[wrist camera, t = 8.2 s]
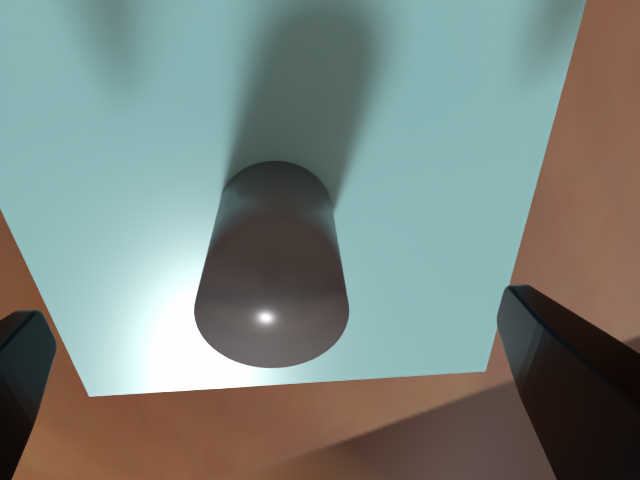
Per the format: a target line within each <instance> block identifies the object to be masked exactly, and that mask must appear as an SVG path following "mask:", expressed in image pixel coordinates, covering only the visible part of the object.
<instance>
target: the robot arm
mask: <svg viewBox="0 0 640 480" xmlns="http://www.w3.org/2000/svg"><path fill="white" fill-rule="evenodd" d="M497 327H498V331H499V334H500V337H501V340H502V343H503V346H504V350H505V353H506V356H507V359H508V362H509V365H510V368H511V371H512V375H513V378H514V381H515V384H516V387H517V390H518V392H519V395H520V398H521V400H522V403H523V405H524V407H525V409H526V412H527V414H528V416H529V419H530V421H531V423H532V425H533V428H534V430H535V432H536V434H537V437H538V439H539V441H540V443H541V446H542V448H543V450H544V452H545V454H546V457H547V459H548V461H549V463H550V466H551V468H552V470H553V472H554V475H555V477H556V479H557V480H640V353H638V352H637V351H635V350H634V349H632V348H630V347H629V346H627V345H625V344H624V343H622V342H621V341H619V340H617V339H616V338H614V337H612V336H611V335H609V334H608V333H606V332H604V331H603V330H601V329H599V328H598V327H596V326H595V325H593V324H591V323H590V322H588V321H586V320H585V319H583V318H582V317H580V316H578V315H577V314H575V313H573V312H572V311H570V310H569V309H567V308H565V307H564V306H562V305H560V304H559V303H557V302H555V301H554V300H552V299H551V298H549V297H547V296H546V295H544V294H542V293H541V292H539V291H538V290H536V289H534V288H533V287H531V286H529V285H509V286H507V287H506V288H505V289H504V291H503V295H502V298H501V302H500V306H499V309H498V313H497ZM56 348H57V347H56V340H55V337H54V335H53V333H52V331H51V329H50V327H49V325H48V323H47V321H46V318H45V316H44V315H43V313H42V312H41V311H39V310H19V311H15V312H13V313H11V314H10V315H8V316H7V317H5V318H3V319H2V320H0V480H12V477H13V475H14V472H15V470H16V468H17V465H18V463H19V460H20V458H21V456H22V453H23V451H24V449H25V446H26V444H27V441H28V439H29V436H30V434H31V431H32V429H33V426H34V423H35V420H36V417H37V414H38V411H39V408H40V404H41V401H42V398H43V394H44V391H45V387H46V384H47V381H48V377H49V374H50V371H51V367H52V364H53V361H54V357H55V354H56Z"/></svg>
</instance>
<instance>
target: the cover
mask: <svg viewBox="0 0 640 480" xmlns="http://www.w3.org/2000/svg"><path fill="white" fill-rule="evenodd" d="M585 4H586V0H0V209H1V211H2V213H3V215H4V218H5V220H6V222H7V224H8V226H9V228H10V230H11V232H12V234H13V237H14V239H15V241H16V243H17V245H18V247H19V249H20V251H21V253H22V256H23V258H24V260H25V262H26V264H27V266H28V268H29V270H30V272H31V275H32V277H33V279H34V281H35V283H36V285H37V287H38V289H39V291H40V294H41V296H42V298H43V300H44V302H45V304H46V306H47V308H48V310H49V313H50V315H51V317H52V319H53V321H54V323H55V325H56V327H57V329H58V332H59V334H60V336H61V338H62V340H63V342H64V344H65V346H66V348H67V351H68V353H69V355H70V357H71V359H72V361H73V363H74V365H75V367H76V370H77V372H78V374H79V376H80V378H81V380H82V382H83V384H84V387H85V389H86V391H87V393H88V395H89V397H91V396H107V395H123V394H138V393H154V392H170V391H185V390H201V389H216V388H232V387H248V386H263V385H279V384H295V383H310V382H326V381H342V380H357V379H373V378H388V377H404V376H420V375H435V374H451V373H467V372H482V371H486V367H487V363H488V360H489V356H490V352H491V349H492V345H493V341H494V338H495V334H496V330H497V313H498V309H499V306H500V302H501V298H502V295H503V291H504V289H505V288H506V287H507V286H509V283H510V279H511V275H512V272H513V268H514V264H515V261H516V257H517V253H518V250H519V246H520V242H521V239H522V235H523V231H524V228H525V224H526V220H527V217H528V213H529V209H530V206H531V202H532V198H533V195H534V191H535V187H536V184H537V180H538V176H539V173H540V169H541V165H542V162H543V158H544V154H545V151H546V147H547V143H548V140H549V136H550V132H551V129H552V125H553V121H554V118H555V114H556V110H557V107H558V103H559V99H560V96H561V92H562V88H563V85H564V81H565V77H566V74H567V70H568V66H569V63H570V59H571V55H572V52H573V48H574V44H575V41H576V37H577V33H578V30H579V26H580V22H581V19H582V15H583V11H584V8H585Z"/></svg>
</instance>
